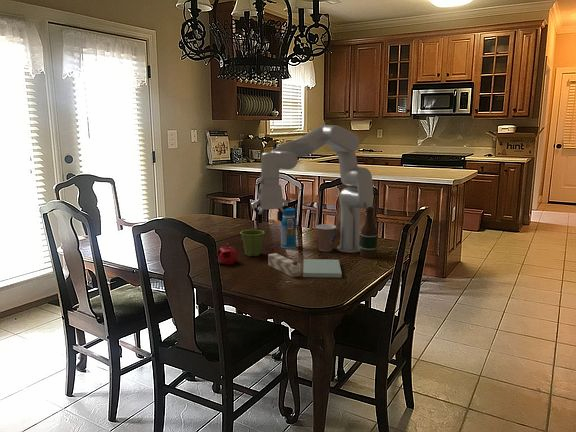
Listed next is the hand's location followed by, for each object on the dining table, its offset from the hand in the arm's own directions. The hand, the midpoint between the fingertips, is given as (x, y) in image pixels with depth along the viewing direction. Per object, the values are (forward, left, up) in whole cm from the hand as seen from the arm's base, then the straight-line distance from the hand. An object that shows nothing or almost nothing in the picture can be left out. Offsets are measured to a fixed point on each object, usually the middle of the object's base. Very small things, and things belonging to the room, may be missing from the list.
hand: (269, 221), depth 202 cm
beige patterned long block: (-1, +6, -22) cm, 22 cm away
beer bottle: (-25, +45, -22) cm, 56 cm away
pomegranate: (-12, -21, -22) cm, 32 cm away
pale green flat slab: (-3, +22, -22) cm, 31 cm away
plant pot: (-26, -11, -22) cm, 35 cm away
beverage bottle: (-41, +6, -22) cm, 47 cm away
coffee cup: (-37, +25, -22) cm, 50 cm away
